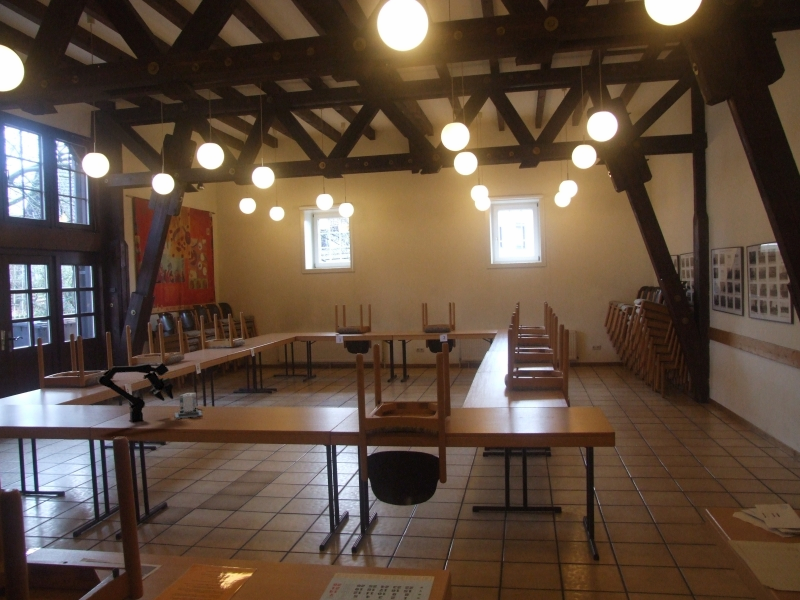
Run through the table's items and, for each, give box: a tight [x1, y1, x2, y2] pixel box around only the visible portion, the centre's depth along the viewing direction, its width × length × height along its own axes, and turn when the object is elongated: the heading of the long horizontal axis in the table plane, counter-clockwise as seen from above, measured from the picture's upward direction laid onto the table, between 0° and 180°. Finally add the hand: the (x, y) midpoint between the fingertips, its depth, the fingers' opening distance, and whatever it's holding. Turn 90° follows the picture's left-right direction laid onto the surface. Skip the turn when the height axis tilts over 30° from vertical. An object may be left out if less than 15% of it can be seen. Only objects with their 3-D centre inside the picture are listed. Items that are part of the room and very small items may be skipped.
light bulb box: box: [179, 392, 198, 411], centre depth 397 cm, size 11×7×11 cm, turn 168°
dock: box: [174, 408, 203, 420], centre depth 377 cm, size 16×16×3 cm
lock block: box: [182, 394, 193, 413], centre depth 377 cm, size 6×6×12 cm
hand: (168, 399), depth 377 cm, fingers open, 9 cm apart
